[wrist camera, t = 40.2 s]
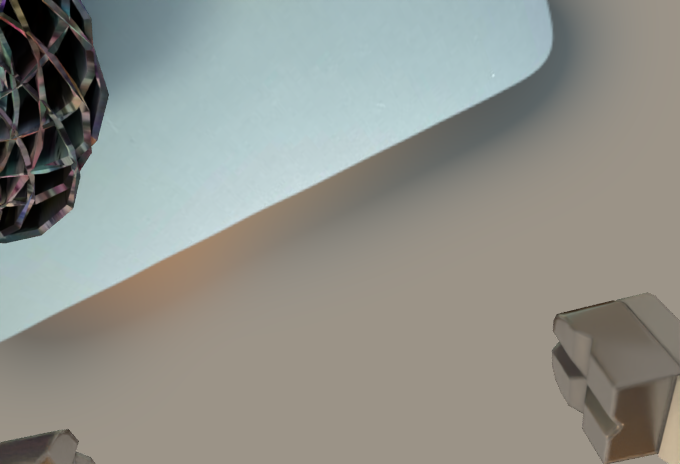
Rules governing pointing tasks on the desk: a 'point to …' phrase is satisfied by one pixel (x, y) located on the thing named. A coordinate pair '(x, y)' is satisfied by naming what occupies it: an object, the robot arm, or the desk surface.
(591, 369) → the robot arm
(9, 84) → the decorative bowl
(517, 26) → the desk surface
